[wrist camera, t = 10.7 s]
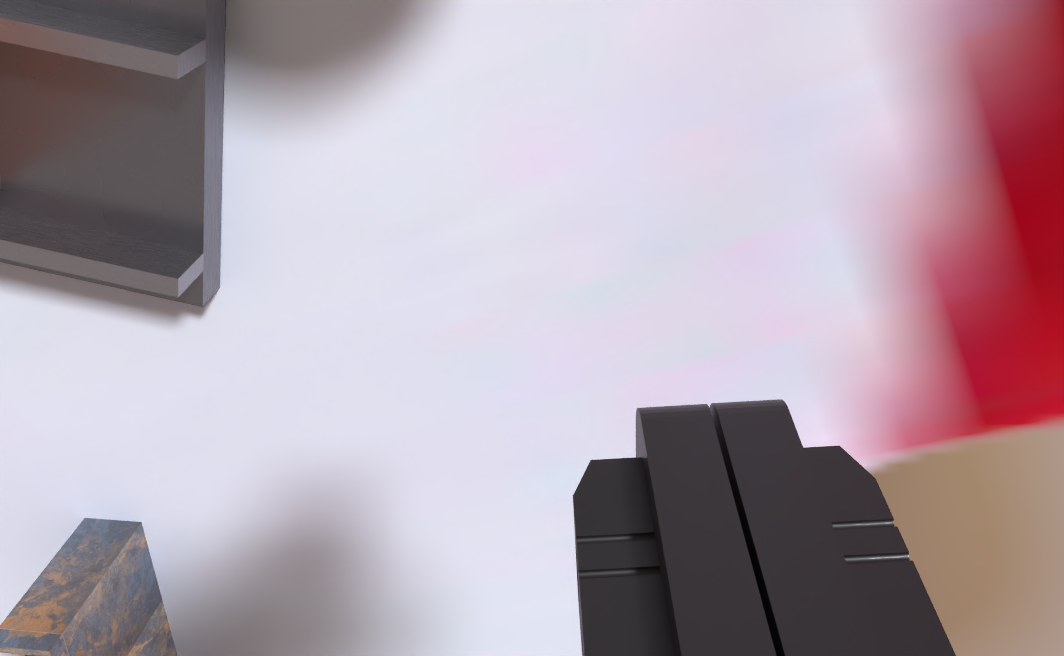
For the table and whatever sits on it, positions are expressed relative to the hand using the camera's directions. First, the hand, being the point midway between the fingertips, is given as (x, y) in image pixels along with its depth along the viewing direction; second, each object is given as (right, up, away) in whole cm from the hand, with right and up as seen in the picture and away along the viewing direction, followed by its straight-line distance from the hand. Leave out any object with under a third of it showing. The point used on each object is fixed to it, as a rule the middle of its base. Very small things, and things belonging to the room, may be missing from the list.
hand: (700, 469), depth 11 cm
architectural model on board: (-20, -11, +36) cm, 43 cm away
